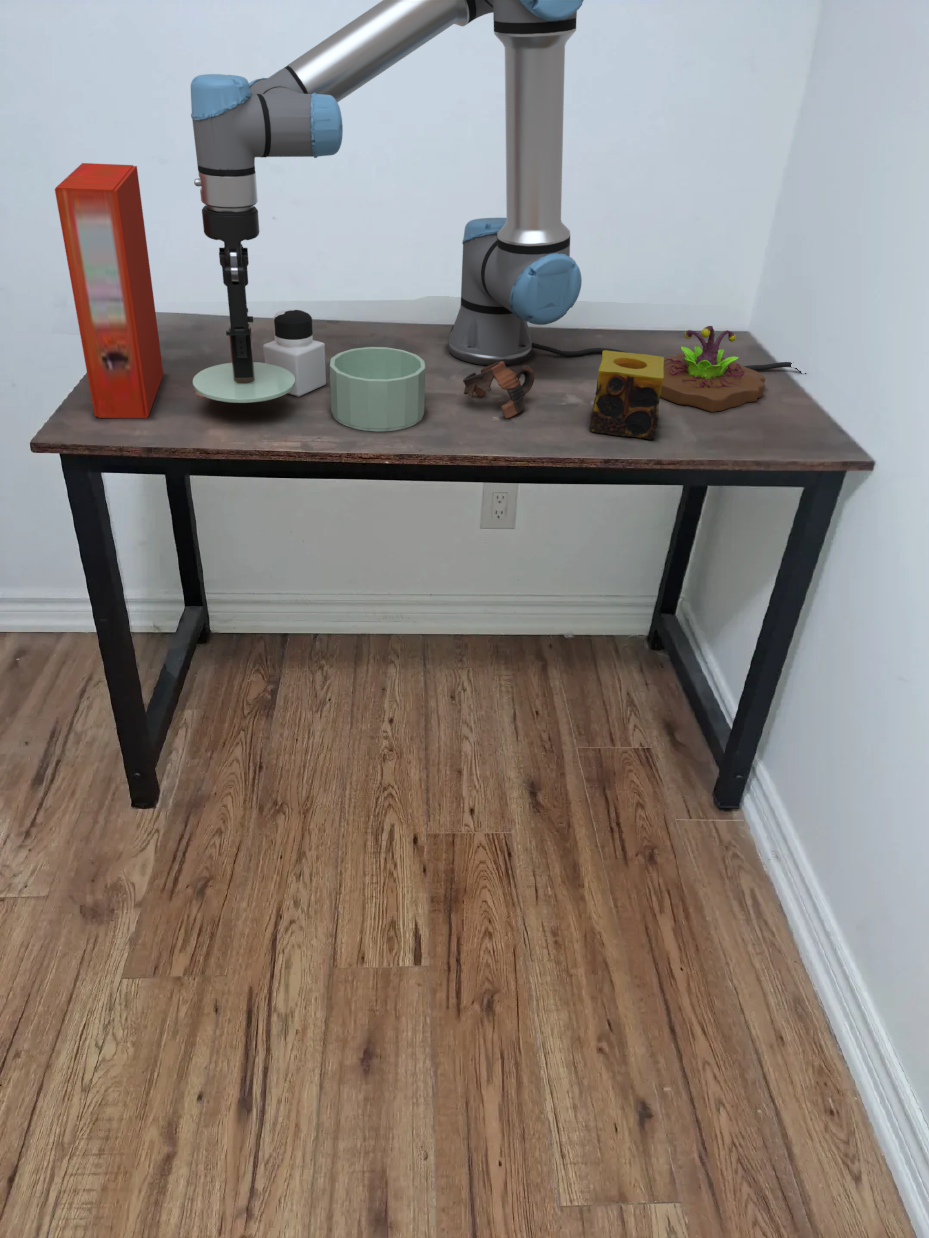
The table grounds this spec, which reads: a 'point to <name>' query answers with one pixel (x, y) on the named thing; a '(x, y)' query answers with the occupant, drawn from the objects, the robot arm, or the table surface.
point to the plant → (709, 376)
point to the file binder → (112, 287)
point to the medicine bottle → (297, 351)
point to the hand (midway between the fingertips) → (243, 371)
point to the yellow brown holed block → (628, 394)
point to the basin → (377, 388)
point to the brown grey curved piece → (502, 384)
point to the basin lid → (243, 382)
